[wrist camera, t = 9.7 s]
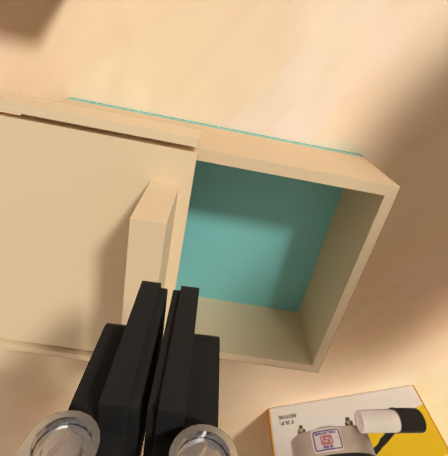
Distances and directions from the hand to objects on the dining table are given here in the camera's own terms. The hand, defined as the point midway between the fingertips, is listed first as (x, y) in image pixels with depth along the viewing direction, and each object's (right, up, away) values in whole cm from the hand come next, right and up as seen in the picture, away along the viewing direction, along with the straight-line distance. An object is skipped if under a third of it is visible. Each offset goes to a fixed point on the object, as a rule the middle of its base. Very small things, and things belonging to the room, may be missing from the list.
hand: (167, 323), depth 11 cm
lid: (-12, +3, +13) cm, 18 cm away
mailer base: (0, +3, +20) cm, 20 cm away
